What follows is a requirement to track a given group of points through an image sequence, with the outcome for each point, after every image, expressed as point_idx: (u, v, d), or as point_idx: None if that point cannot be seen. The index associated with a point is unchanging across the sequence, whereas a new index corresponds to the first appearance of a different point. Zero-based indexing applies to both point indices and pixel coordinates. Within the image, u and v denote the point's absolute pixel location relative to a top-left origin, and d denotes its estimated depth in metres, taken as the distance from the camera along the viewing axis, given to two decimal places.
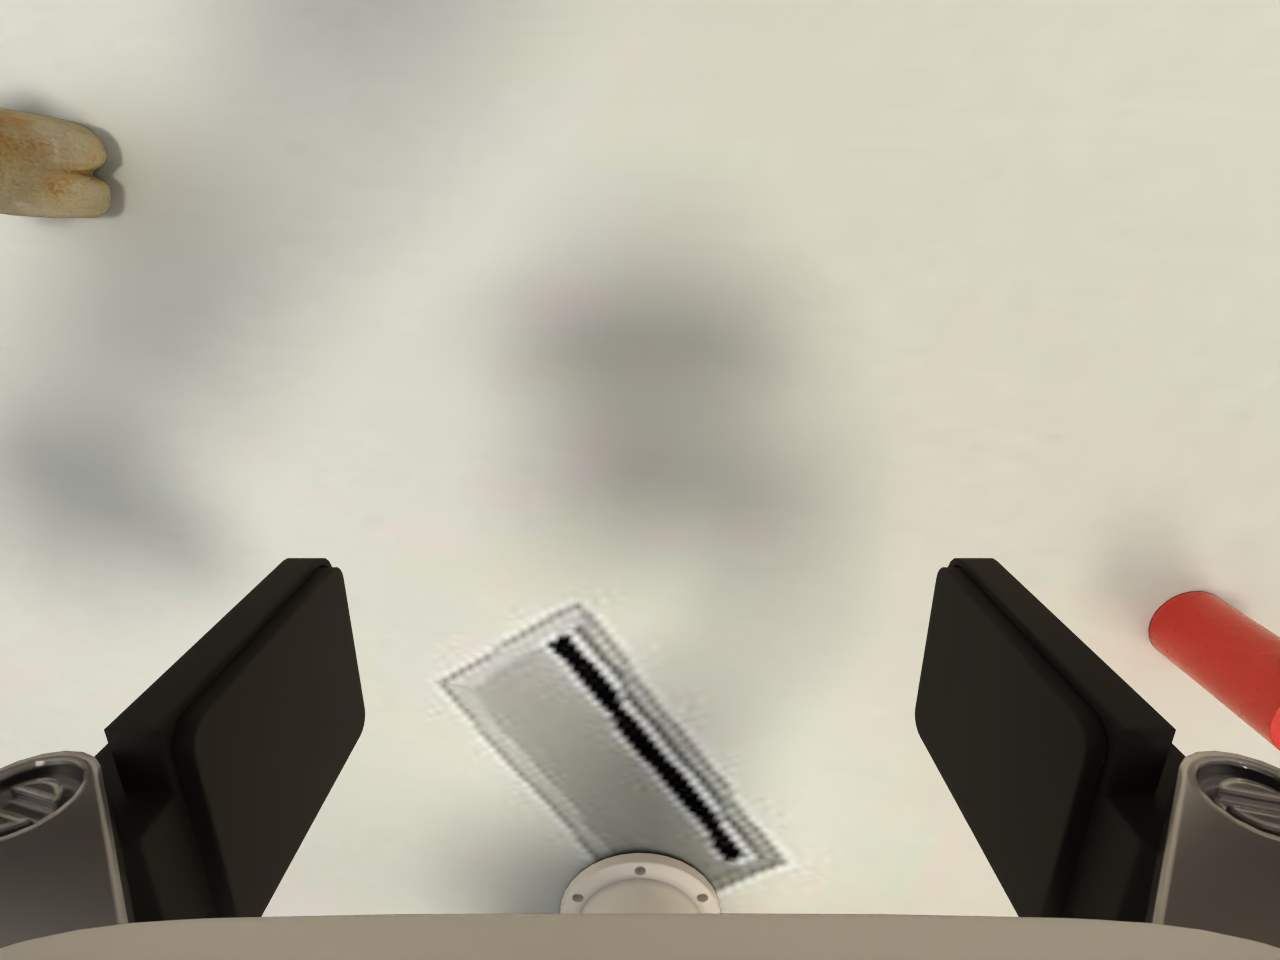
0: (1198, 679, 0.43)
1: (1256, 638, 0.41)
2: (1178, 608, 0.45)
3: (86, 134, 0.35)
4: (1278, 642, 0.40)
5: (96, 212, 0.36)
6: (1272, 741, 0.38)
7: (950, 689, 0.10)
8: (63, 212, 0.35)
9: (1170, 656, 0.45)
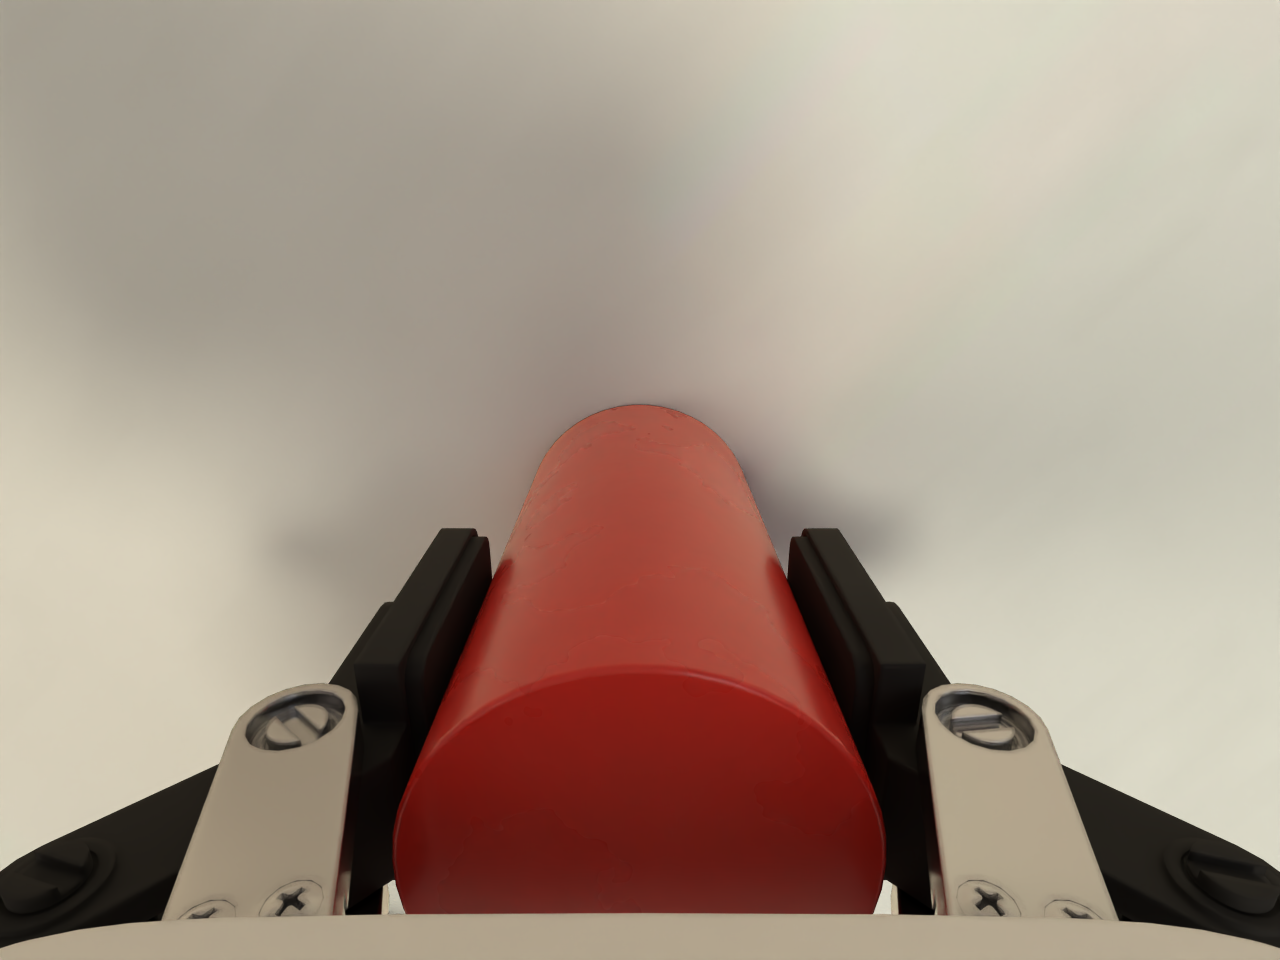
0: (655, 470, 0.11)
1: None
2: None
3: None
4: None
5: None
6: (635, 666, 0.06)
7: None
8: None
9: (653, 429, 0.13)
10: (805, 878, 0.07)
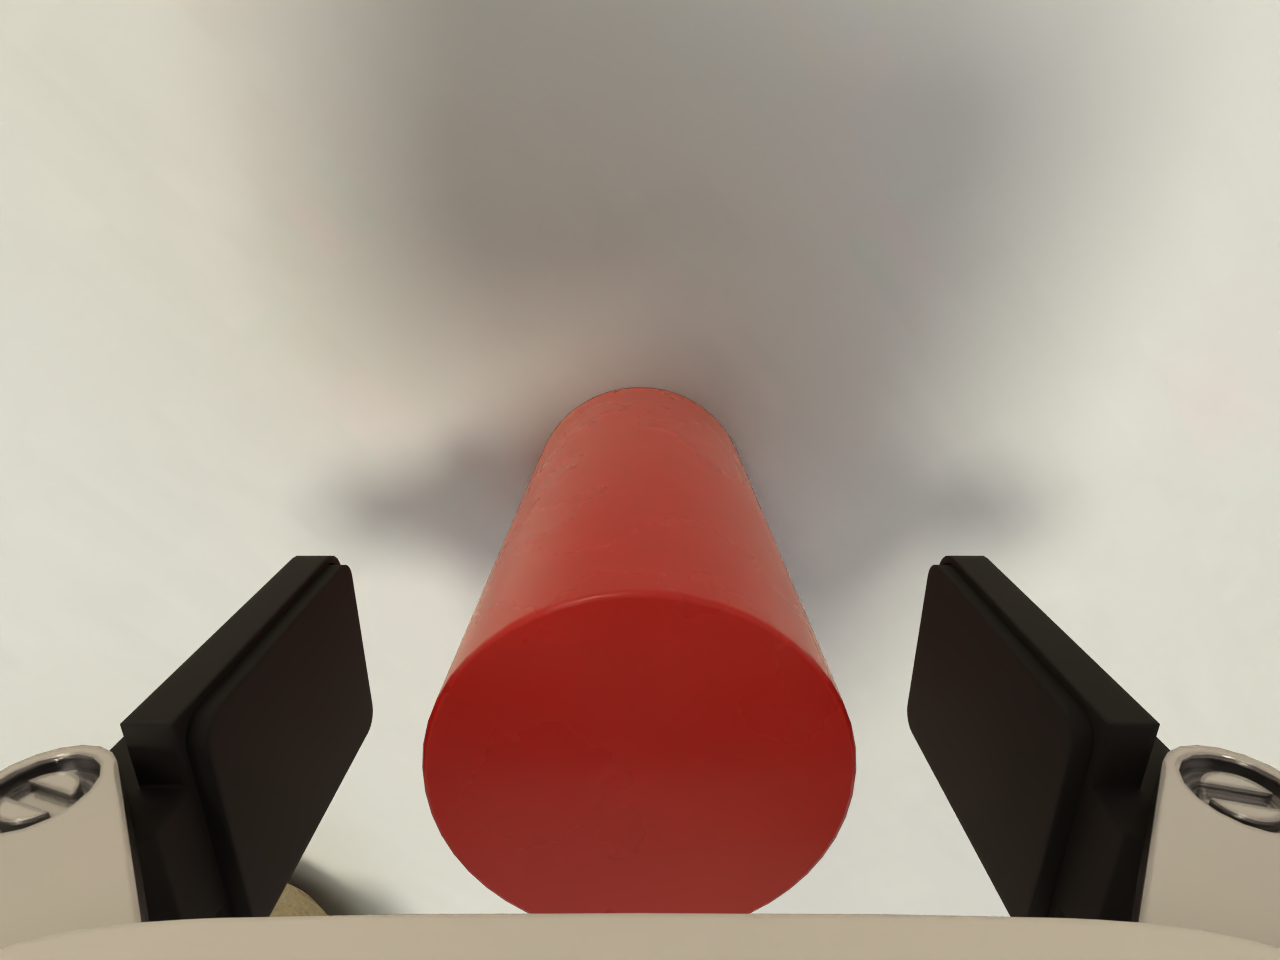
0: (653, 442, 0.12)
1: None
2: None
3: None
4: None
5: None
6: (635, 592, 0.07)
7: (941, 685, 0.10)
8: None
9: (652, 408, 0.14)
10: (784, 785, 0.08)
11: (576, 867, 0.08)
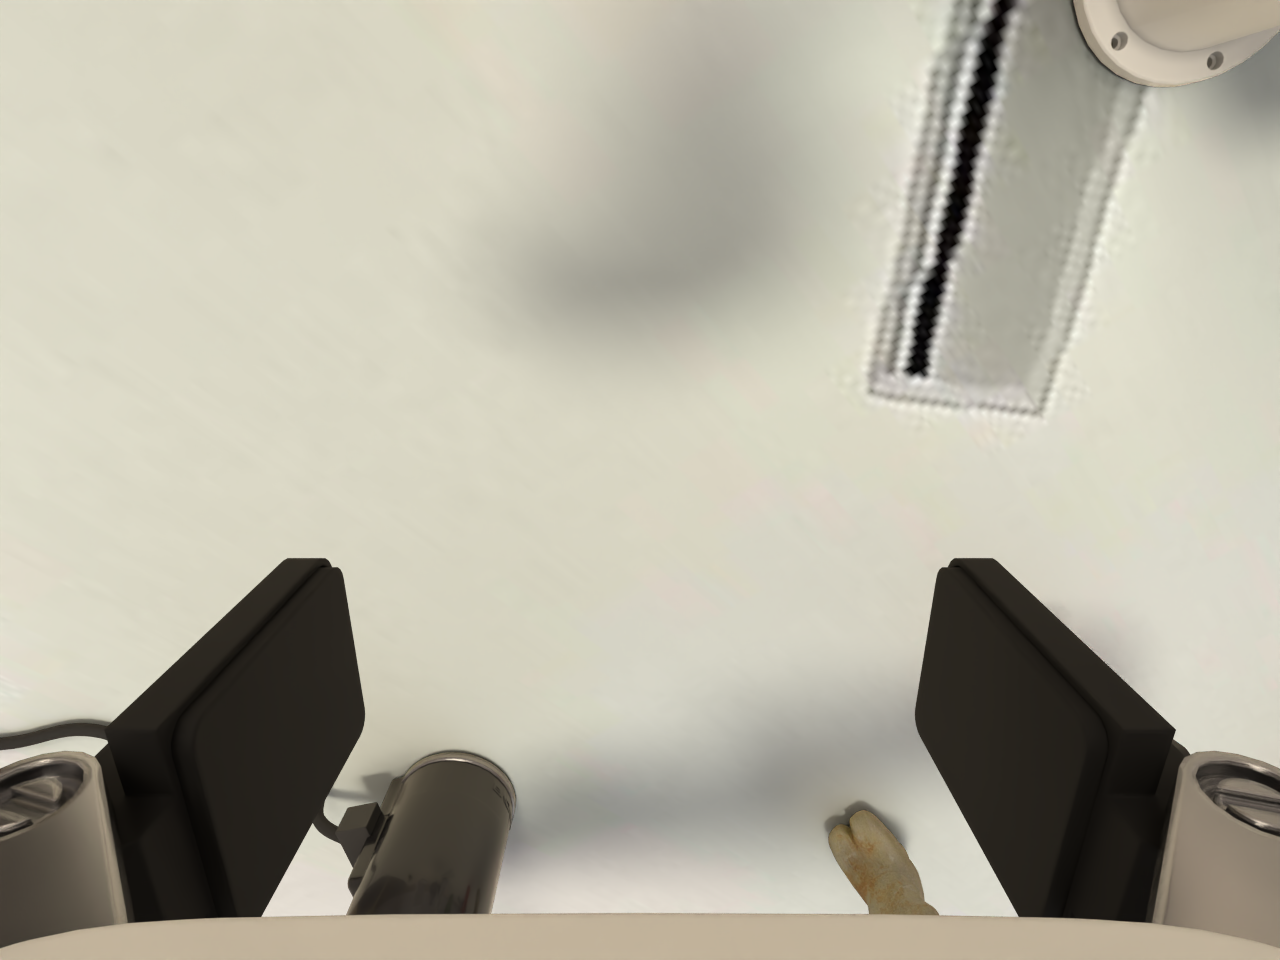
0: None
1: None
2: None
3: (831, 844, 0.56)
4: None
5: (867, 819, 0.55)
6: None
7: (950, 689, 0.10)
8: (880, 836, 0.55)
9: None
10: None
11: None
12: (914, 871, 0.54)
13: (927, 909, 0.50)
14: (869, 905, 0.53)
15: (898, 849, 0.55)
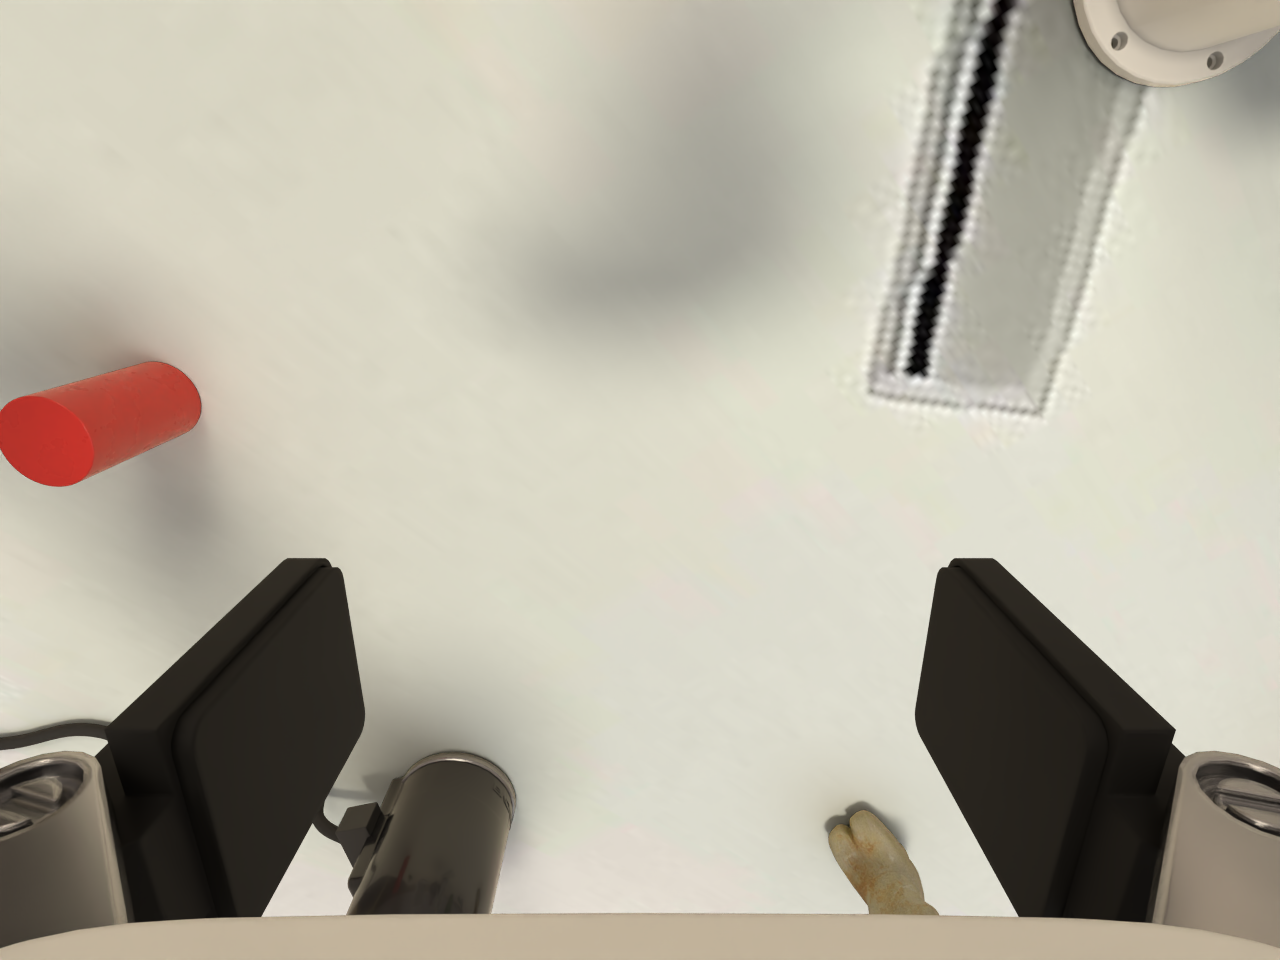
0: None
1: (96, 379, 0.40)
2: (129, 367, 0.44)
3: (831, 844, 0.56)
4: (105, 386, 0.39)
5: (867, 819, 0.55)
6: (3, 452, 0.37)
7: (950, 689, 0.10)
8: (880, 836, 0.55)
9: None
10: (28, 412, 0.36)
11: (73, 450, 0.37)
12: (914, 871, 0.54)
13: (927, 909, 0.50)
14: (869, 905, 0.53)
15: (898, 849, 0.55)
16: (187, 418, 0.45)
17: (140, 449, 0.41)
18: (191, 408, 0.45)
